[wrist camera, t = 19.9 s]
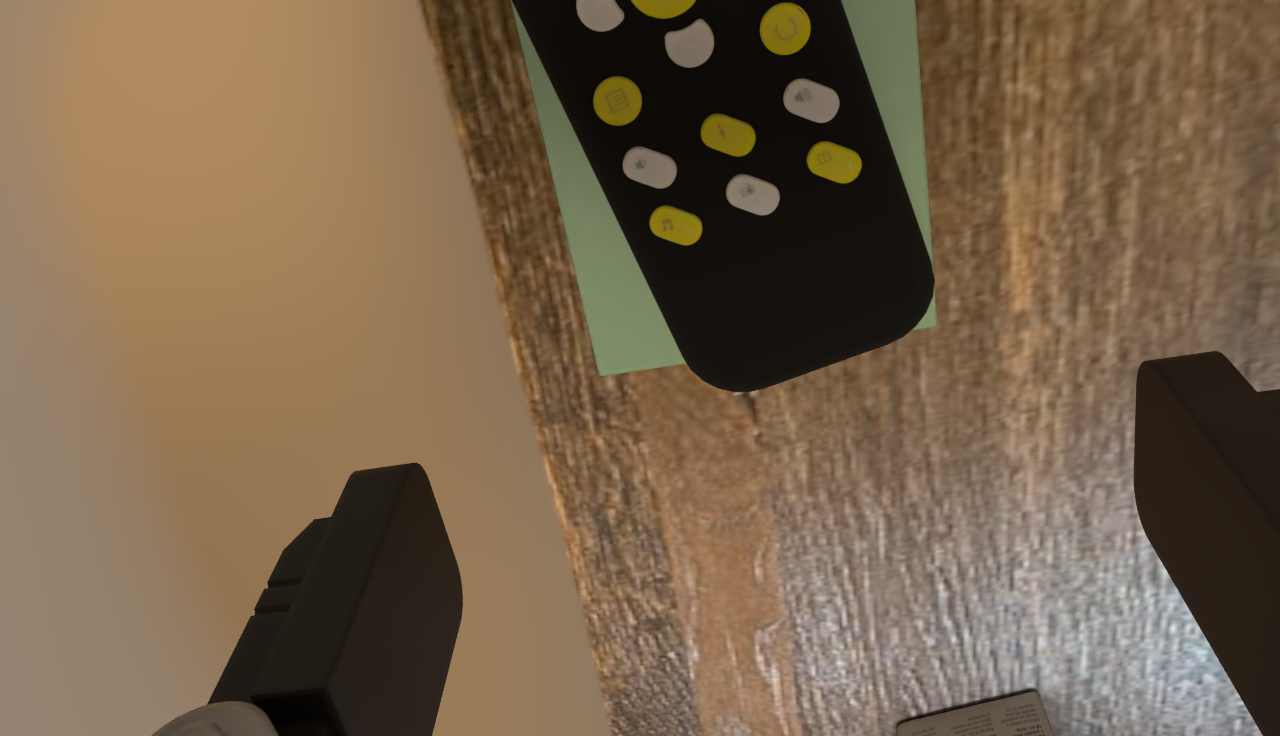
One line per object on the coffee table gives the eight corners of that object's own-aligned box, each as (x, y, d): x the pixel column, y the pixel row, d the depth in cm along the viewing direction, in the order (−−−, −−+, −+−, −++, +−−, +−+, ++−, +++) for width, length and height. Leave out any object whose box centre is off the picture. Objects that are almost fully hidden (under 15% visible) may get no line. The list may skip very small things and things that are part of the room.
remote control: (705, 380, 29) (707, 422, 27) (472, -111, 23) (455, -100, 21) (940, 295, 27) (957, 333, 26) (751, -249, 22) (758, -248, 20)
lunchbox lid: (472, -186, 23) (466, -184, 23) (890, -275, 22) (896, -276, 22) (601, 362, 29) (599, 377, 29) (931, 312, 28) (938, 327, 28)
